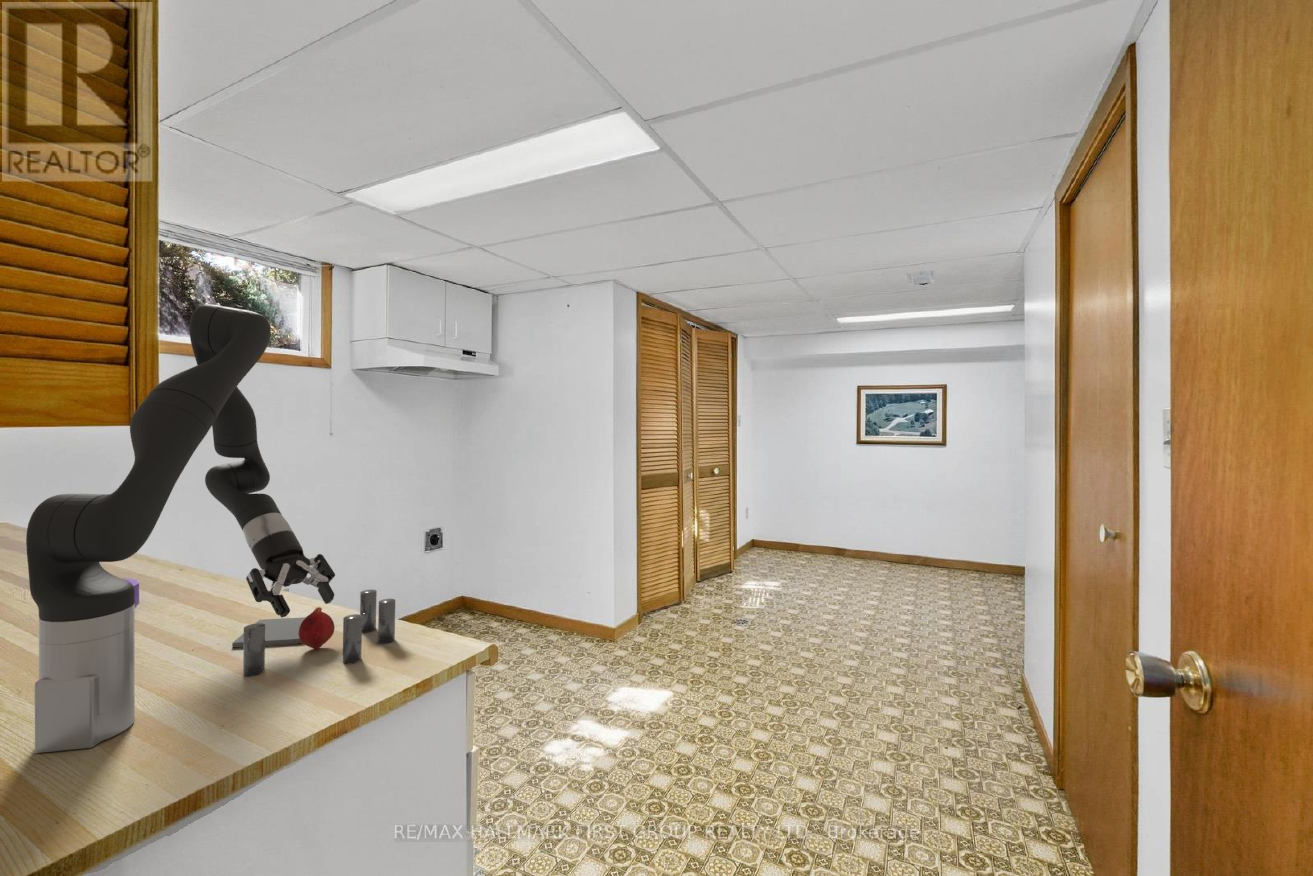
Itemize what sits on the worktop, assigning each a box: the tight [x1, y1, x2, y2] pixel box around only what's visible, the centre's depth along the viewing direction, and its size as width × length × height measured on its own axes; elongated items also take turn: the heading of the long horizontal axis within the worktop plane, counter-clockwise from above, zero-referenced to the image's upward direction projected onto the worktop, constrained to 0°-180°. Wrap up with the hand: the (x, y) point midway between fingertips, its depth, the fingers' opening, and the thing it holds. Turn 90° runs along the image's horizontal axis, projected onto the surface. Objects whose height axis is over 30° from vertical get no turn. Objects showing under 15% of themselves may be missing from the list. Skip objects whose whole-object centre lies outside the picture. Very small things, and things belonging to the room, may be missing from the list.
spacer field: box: [242, 589, 396, 677], centre depth 106 cm, size 20×22×8 cm
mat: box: [231, 616, 307, 648], centre depth 111 cm, size 12×12×1 cm
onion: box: [298, 606, 336, 650], centre depth 105 cm, size 6×6×8 cm
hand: (309, 607), depth 106 cm, fingers open, 8 cm apart
